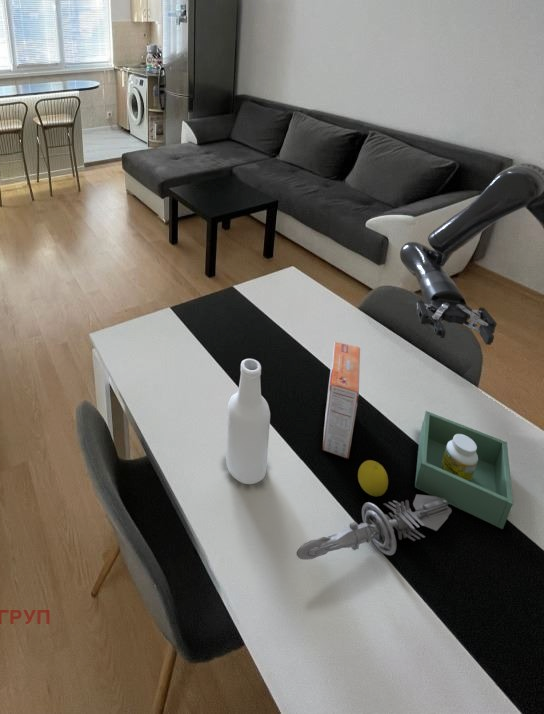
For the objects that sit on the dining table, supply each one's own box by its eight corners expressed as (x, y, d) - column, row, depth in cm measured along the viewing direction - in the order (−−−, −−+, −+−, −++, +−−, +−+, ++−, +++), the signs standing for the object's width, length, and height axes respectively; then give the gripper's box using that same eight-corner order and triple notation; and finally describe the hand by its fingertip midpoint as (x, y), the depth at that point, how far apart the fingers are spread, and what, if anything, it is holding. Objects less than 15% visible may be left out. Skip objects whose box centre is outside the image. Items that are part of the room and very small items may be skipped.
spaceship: (282, 516, 80) (309, 550, 72) (429, 472, 89) (466, 498, 81) (285, 559, 79) (313, 598, 72) (431, 510, 89) (470, 540, 81)
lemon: (352, 475, 93) (357, 450, 90) (380, 480, 92) (386, 454, 89) (359, 502, 88) (364, 476, 85) (388, 507, 87) (394, 481, 84)
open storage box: (497, 466, 93) (506, 442, 91) (502, 529, 82) (513, 504, 80) (419, 433, 101) (425, 410, 98) (414, 487, 90) (421, 463, 87)
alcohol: (273, 465, 96) (282, 363, 85) (252, 495, 91) (258, 390, 80) (240, 440, 102) (244, 342, 91) (218, 467, 96) (219, 366, 85)
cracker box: (325, 403, 110) (334, 339, 103) (351, 411, 108) (361, 346, 100) (320, 450, 99) (329, 383, 91) (348, 460, 96) (360, 392, 89)
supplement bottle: (477, 483, 90) (488, 452, 86) (455, 489, 89) (465, 457, 85) (455, 459, 95) (465, 428, 91) (434, 464, 94) (443, 433, 90)
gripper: (411, 276, 106) (431, 319, 92) (478, 283, 102) (510, 329, 88) (405, 301, 109) (425, 346, 95) (471, 309, 105) (501, 357, 91)
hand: (466, 338), depth 91 cm, fingers open, 8 cm apart
